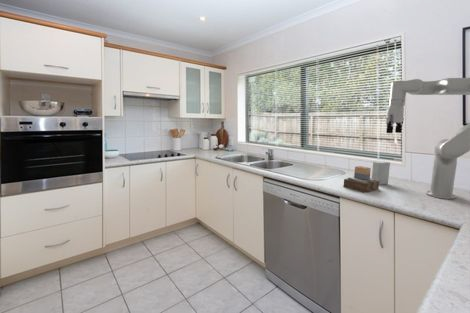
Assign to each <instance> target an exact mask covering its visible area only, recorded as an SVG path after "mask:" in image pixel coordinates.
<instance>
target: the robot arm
mask: <svg viewBox="0 0 470 313" xmlns="http://www.w3.org/2000/svg"><path fill="white" fill-rule="evenodd" d="M389 94H390V95H389V104H388V107H387V108H388V109H387V112H386V121H385V122H386V134H393V132H395V133H396V134H397V133H398V134H400V133H402V130H403V125H404V120H405V118H404V114H405V113H404V112H405V111H404V110H405V107H404V106H405V104H406V96H407V94H409V95H412V96H415V95H416V96H417V95H418V96H420V95H421V96H425V95H426V96H430V95H431V96H432V95H433V96H434V95H435V96H436V95H437V96H445V95H446V96H454V95H455V96H457V95H460V96H462V95H463V96H470V77H450V78H449V77H448V78H442V79H438V80H430V81H427V80H426V81H425V80H424V81H423V80H422V79H418V78H415V79H408V80H395V81H392V82H391V84H390V93H389ZM394 124H396V125H395V130H394ZM468 152H470V122H469V123H467V124H466V125H464V126H462V127H461V128H459V129H458V130H457V131H456V134H455V135H454V136H452V137H451V138H449V139H448V138H445V139H441V140H440V141H438V142H437V143H436V144H435V147H434V159H433V167H432V176H431V181H430V189H429V190H427V191H426V195H428V196H430V197H433V198H438V199H445V200H455V199H456V197H457V196H456V194H453V192H454V185H455V184H454V183H455V178H456V172H457V165H458V158H460V157H462V156H463V155H465V154H467V153H468Z"/></svg>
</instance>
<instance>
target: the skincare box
mask: <svg viewBox="0 0 470 313" xmlns="http://www.w3.org/2000/svg"><path fill="white" fill-rule="evenodd" d="M390 167H391V162H389V161H386V160H379V161H378V160H377V161H375V160H374V161H373V162H372V172H371V179H376V181H379V186H381V185H389V176H390Z"/></svg>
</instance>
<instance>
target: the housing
mask: <svg viewBox="0 0 470 313" xmlns="http://www.w3.org/2000/svg"><path fill="white" fill-rule="evenodd" d="M371 168H372V167H369V166H368V167H367V166H362V165H359V166H355V167H354V174H353V177H354V178H357V179H361V180H369V179H370V178H371Z"/></svg>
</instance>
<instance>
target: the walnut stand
mask: <svg viewBox="0 0 470 313" xmlns="http://www.w3.org/2000/svg"><path fill="white" fill-rule="evenodd" d="M343 188H346V189H350V190H353V191H354V190H355V191H357V192H361V193H369V192H372V191H377V190H379V188H380V185H379V181H376V179H372V177H370V179H369V180H361V179H357V178H354V176H349V177H347V178H344V179H343Z"/></svg>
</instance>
